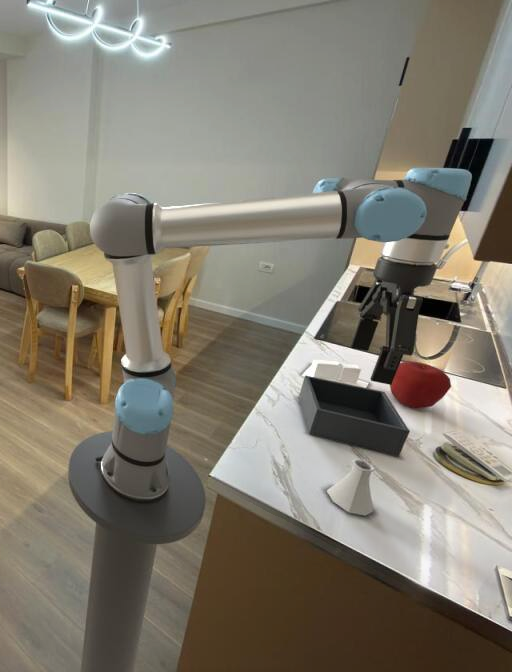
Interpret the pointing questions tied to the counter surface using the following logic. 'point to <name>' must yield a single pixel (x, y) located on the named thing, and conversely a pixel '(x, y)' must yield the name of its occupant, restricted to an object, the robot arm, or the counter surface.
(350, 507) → the flask
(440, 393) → the apple
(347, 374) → the napkin holder
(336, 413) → the storage bin
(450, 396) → the counter surface
